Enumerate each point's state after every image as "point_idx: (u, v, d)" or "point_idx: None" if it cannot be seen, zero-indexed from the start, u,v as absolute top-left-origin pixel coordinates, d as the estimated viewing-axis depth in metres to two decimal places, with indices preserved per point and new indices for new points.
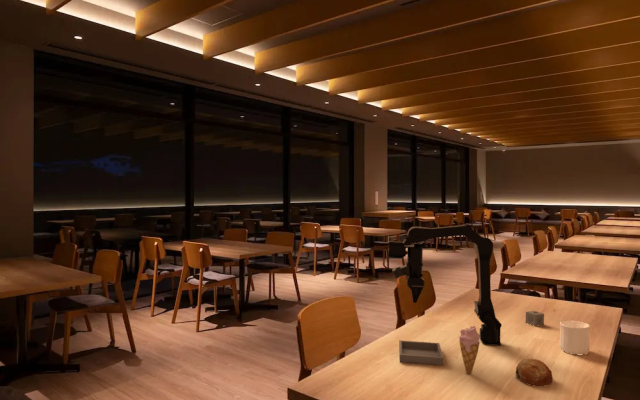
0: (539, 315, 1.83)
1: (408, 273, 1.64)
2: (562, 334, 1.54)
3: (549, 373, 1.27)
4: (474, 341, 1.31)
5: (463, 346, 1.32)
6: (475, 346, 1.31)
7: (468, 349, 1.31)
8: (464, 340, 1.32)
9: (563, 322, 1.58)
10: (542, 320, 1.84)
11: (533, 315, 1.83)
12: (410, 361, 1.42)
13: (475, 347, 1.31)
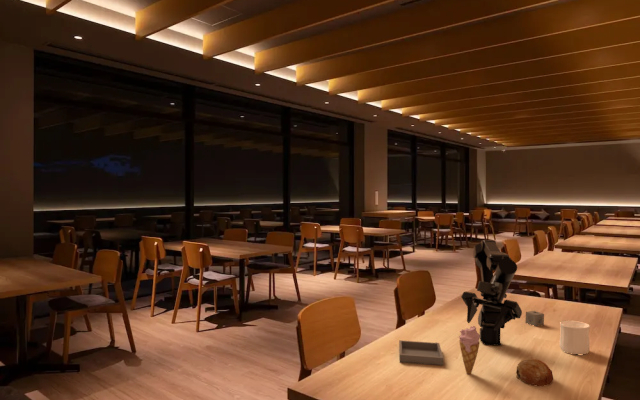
0: (539, 315, 1.83)
1: (499, 296, 1.40)
2: (562, 334, 1.54)
3: (550, 373, 1.27)
4: (474, 341, 1.31)
5: (463, 346, 1.32)
6: (475, 346, 1.31)
7: (468, 349, 1.31)
8: (464, 340, 1.32)
9: (563, 322, 1.58)
10: (542, 320, 1.84)
11: (533, 315, 1.83)
12: (410, 361, 1.42)
13: (475, 347, 1.31)
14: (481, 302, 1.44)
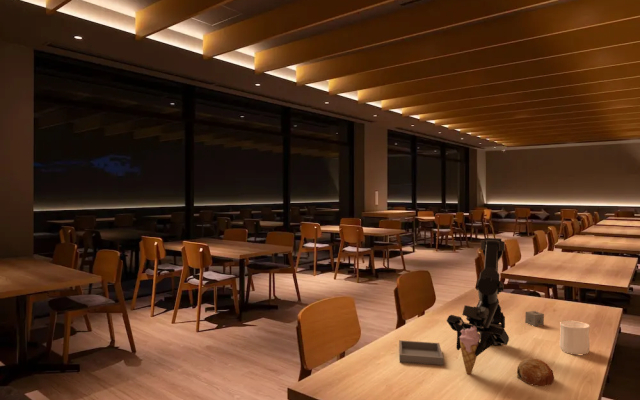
0: (539, 315, 1.83)
1: (485, 321, 1.34)
2: (562, 334, 1.54)
3: (550, 373, 1.27)
4: (474, 341, 1.31)
5: (463, 346, 1.32)
6: (475, 346, 1.31)
7: (468, 349, 1.31)
8: (464, 340, 1.32)
9: (563, 322, 1.58)
10: (541, 321, 1.84)
11: (533, 315, 1.83)
12: (410, 361, 1.42)
13: (475, 347, 1.31)
14: None
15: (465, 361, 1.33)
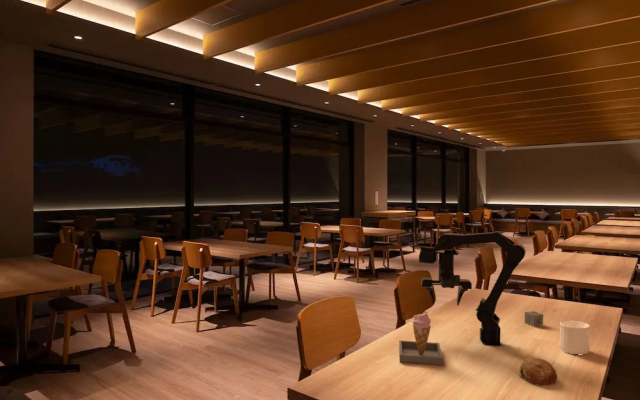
0: (538, 316, 1.83)
1: None
2: (562, 334, 1.54)
3: (553, 372, 1.28)
4: (425, 325, 1.46)
5: (415, 330, 1.47)
6: (426, 329, 1.46)
7: (420, 332, 1.46)
8: (416, 324, 1.46)
9: (563, 322, 1.58)
10: (541, 321, 1.83)
11: (531, 315, 1.83)
12: (410, 361, 1.42)
13: (426, 330, 1.46)
14: (438, 284, 1.70)
15: (417, 343, 1.47)
